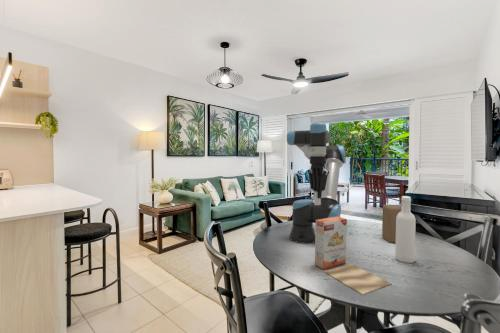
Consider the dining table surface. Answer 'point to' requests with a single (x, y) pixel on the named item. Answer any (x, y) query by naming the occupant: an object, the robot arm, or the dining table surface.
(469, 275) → the dining table surface
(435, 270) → the dining table surface
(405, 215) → the bottle
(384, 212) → the wooden block
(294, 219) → the robot arm
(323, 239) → the cracker box
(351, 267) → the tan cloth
